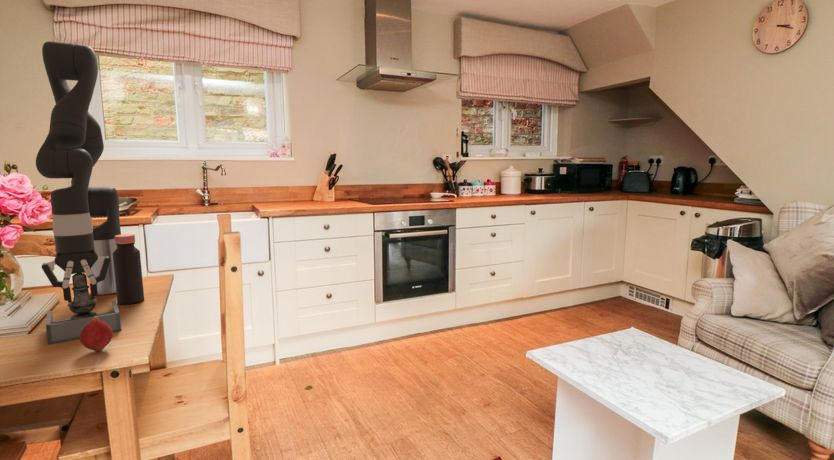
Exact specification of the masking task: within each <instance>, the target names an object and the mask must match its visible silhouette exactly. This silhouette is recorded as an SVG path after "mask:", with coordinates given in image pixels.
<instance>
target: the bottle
mask: <svg viewBox="0 0 834 460" xmlns="http://www.w3.org/2000/svg"><path fill="white" fill-rule="evenodd" d="M114 237H115V244H116V245H117V249H116V250H115V251H114V252H113V264H114V274H115V283H116V293H115V294H116V300H117V301H116V303H117V304H119V305H121V306H122V305H125V306H126V305H134V304H138V303H141V302H143V301H144V300H145V292H144V282H143V272H142V271H143V270H142V262H141V260H142V259H141V251H140V250H139V249H138V248H137V247H136V246H135V244H136V236H135V234H134V233H123V234H122V233H121V235H116V236H114Z"/></svg>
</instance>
